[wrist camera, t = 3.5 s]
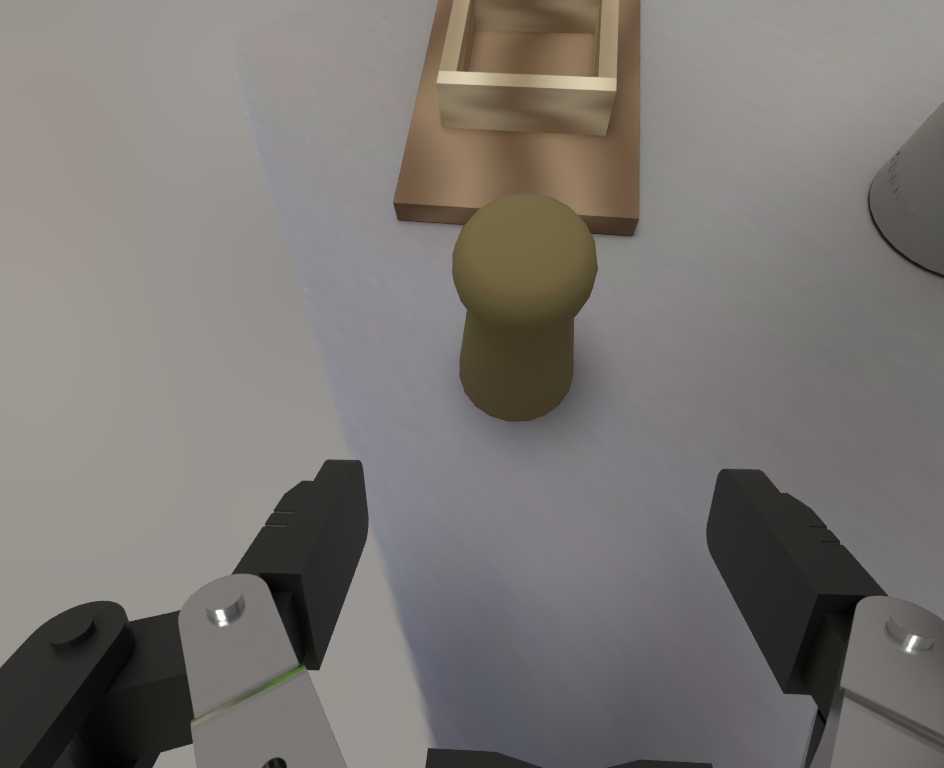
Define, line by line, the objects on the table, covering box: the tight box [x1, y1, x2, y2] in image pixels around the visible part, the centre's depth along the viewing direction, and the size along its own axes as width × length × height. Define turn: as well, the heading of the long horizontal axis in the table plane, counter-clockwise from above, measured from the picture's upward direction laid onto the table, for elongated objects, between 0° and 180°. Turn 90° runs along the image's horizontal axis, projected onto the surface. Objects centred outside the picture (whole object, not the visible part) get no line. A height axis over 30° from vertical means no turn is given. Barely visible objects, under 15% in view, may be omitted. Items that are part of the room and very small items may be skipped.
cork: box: [452, 193, 598, 421], centre depth 22 cm, size 6×6×11 cm
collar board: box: [393, 0, 640, 236], centre depth 32 cm, size 14×22×4 cm, turn 173°
